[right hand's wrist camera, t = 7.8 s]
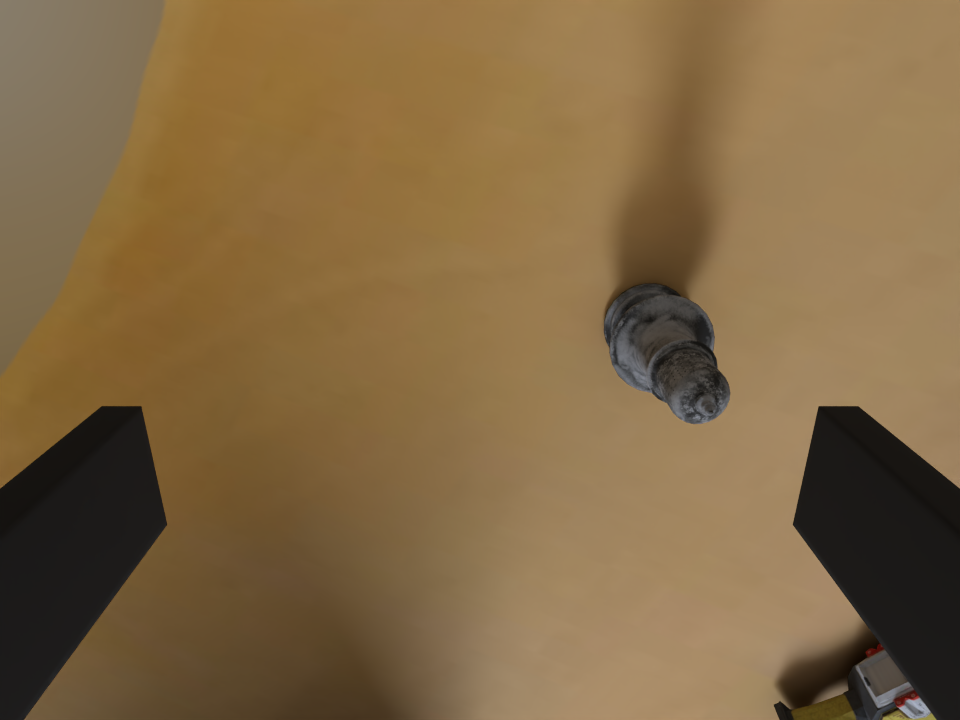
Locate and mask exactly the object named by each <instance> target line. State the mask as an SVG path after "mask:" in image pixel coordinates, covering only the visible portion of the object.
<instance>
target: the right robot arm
mask: <svg viewBox="0 0 960 720" xmlns="http://www.w3.org/2000/svg"><path fill="white" fill-rule="evenodd" d="M166 526H167V522H166V517H165V513H164V508H163V504H162V499H161V494H160V490H159V485H158V481H157V476H156V471H155V467H154V462H153V458H152V453H151V449H150V444H149V439H148V435H147V430H146V426H145V421H144V416H143V412H142V407H141V406H102V407H100V408H99V409H98V410H97V411H95V412H94V413H93V414H92V415H91V416H89V417H88V418H87V419H86V420H84V421H83V422H82V423H81V424H79V425H78V426H77V427H76V428H74V429H73V430H72V431H71V432H70V433H68V434H67V435H66V436H65V437H63V438H62V439H61V440H60V441H58V442H57V443H56V444H55V445H54V446H52V447H51V448H50V449H49V450H47V451H46V452H45V453H44V454H42V455H41V456H40V457H39V458H38V459H36V460H35V461H34V462H33V463H31V464H30V465H29V466H28V467H26V468H25V469H24V470H23V471H21V472H20V473H19V474H18V475H17V476H15V477H14V478H13V479H12V480H10V481H9V482H8V483H7V484H5V485H4V486H3V487H2V488H1V489H0V720H24V719H25V717H26V716H27V714H28V713H29V712H30V710H31V709H32V708H33V706H34V705H35V704H36V702H37V701H38V700H39V698H40V697H41V695H42V694H43V693H44V691H45V690H46V689H47V687H48V686H49V685H50V683H51V682H52V680H53V679H54V678H55V676H56V675H57V674H58V672H59V671H60V670H61V668H62V667H63V666H64V664H65V663H66V661H67V660H68V659H69V657H70V656H71V655H72V653H73V652H74V651H75V649H76V648H77V647H78V645H79V644H80V642H81V641H82V640H83V638H84V637H85V636H86V634H87V633H88V632H89V630H90V629H91V627H92V626H93V625H94V623H95V622H96V621H97V619H98V618H99V617H100V615H101V614H102V613H103V611H104V610H105V608H106V607H107V606H108V604H109V603H110V602H111V600H112V599H113V598H114V596H115V595H116V594H117V592H118V591H119V589H120V588H121V587H122V585H123V584H124V583H125V581H126V580H127V579H128V577H129V576H130V574H131V573H132V572H133V570H134V569H135V568H136V566H137V565H138V564H139V562H140V561H141V560H142V558H143V557H144V555H145V554H146V553H147V551H148V550H149V549H150V547H151V546H152V545H153V543H154V542H155V541H156V539H157V538H158V536H159V535H160V534H161V532H162V531H163V530H164V528H165V527H166ZM793 526H794V527H795V528H796V530H797V531H798V532H799V534H800V535H801V536H802V538H803V539H804V541H805V542H806V543H807V545H808V546H809V547H810V549H811V550H812V551H813V553H814V554H815V555H816V557H817V558H818V560H819V561H820V562H821V564H822V565H823V566H824V568H825V569H826V570H827V572H828V573H829V574H830V576H831V577H832V579H833V580H834V581H835V583H836V584H837V585H838V587H839V588H840V589H841V591H842V592H843V594H844V595H845V596H846V598H847V599H848V600H849V602H850V603H851V604H852V606H853V607H854V608H855V610H856V611H857V613H858V614H859V615H860V617H861V618H862V619H863V621H864V622H865V623H866V625H867V626H868V627H869V629H870V630H871V632H872V633H873V634H874V636H875V637H876V638H877V640H878V641H879V642H880V644H881V645H882V647H883V648H884V649H885V651H886V652H887V653H888V655H889V656H890V657H891V659H892V660H893V661H894V663H895V664H896V666H897V667H898V668H899V670H900V671H901V672H902V674H903V675H904V676H905V678H906V679H907V680H908V682H909V683H910V685H911V686H912V687H913V689H914V690H915V691H916V693H917V694H918V695H919V697H920V698H921V700H922V701H923V702H924V704H925V705H926V706H927V708H928V709H929V710H930V712H931V713H932V714H933V716H934V717H935V719H936V720H960V489H959V488H958V487H957V486H956V485H955V484H953V483H952V482H951V481H950V480H948V479H947V478H946V477H945V476H943V475H942V474H941V473H940V472H939V471H937V470H936V469H935V468H934V467H932V466H931V465H930V464H929V463H927V462H926V461H925V460H924V459H922V458H921V457H920V456H919V455H918V454H916V453H915V452H914V451H913V450H911V449H910V448H909V447H908V446H906V445H905V444H904V443H903V442H902V441H900V440H899V439H898V438H897V437H895V436H894V435H893V434H892V433H890V432H889V431H888V430H887V429H886V428H884V427H883V426H882V425H881V424H879V423H878V422H877V421H876V420H874V419H873V418H872V417H871V416H869V415H868V414H867V413H866V412H865V411H863V410H862V409H861V408H860V407H858V406H819V407H818V412H817V416H816V421H815V426H814V430H813V435H812V439H811V444H810V449H809V453H808V458H807V462H806V467H805V471H804V476H803V481H802V485H801V490H800V494H799V499H798V504H797V508H796V513H795V517H794V522H793Z"/></svg>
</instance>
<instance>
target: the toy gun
mask: <svg viewBox="0 0 960 720" xmlns="http://www.w3.org/2000/svg"><path fill="white" fill-rule="evenodd" d="M866 654H867V657H868V658H866V659H865V660H863V661H862V662H860V663H858V664H856V665H854V666H853V668H852V670H851V672H850V674H849V676H848V687H849V691H847V692H844V693H843V694H842V695H839V696H836V697H833V698H831V699H828V700H825V701H822V702H819V703H817V704H813V705H810V706H806V707H802V708H798V709H794V710H791V709H789V708H787V707H786V706H785V705H784V704H783V703H782V702H780V701H779V703H777V704H775V705H774V707H775V709H776V712H777V714H778V717H779V719H780V720H936V719H935V717H934V716H933V714H932V713H931V712H930V710H929V709H928V708H927V706H926V705H925V704H924V702H923V701H922V700H921V698H920V697H919V695H918V694H917V693H916V691H915V690H914V689H913V687H912V686H911V685H910V683H909V682H908V680H907V679H906V678H905V676H904V675H903V674H902V672H901V671H900V670H899V668H898V667H897V666H896V664H895V663H894V661H893V660H892V659H891V657H890V656H889V655H888V653H887V652H886V651H885V649H884V648H883V647H882V645H881V644H880V643H879V644H878V647H877V649H872V648H870V649H868V650H867V651H866Z"/></svg>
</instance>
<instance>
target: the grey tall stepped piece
mask: <svg viewBox="0 0 960 720" xmlns="http://www.w3.org/2000/svg"><path fill="white" fill-rule="evenodd" d="M604 334H605V339H606V342H607V344H608V346H609V347H610V352H609V353H610V357H611V361H612V365H613V367H614V368H615V370H616V372H617V374H618V375H619V377H621V378H622V379H623V380H624V381H625V382H626V383H627V384H628V385H630V386H632V387H634V388H636V389H638V390H641V391H646V392H650V393H652V394H654V395H655V396H656V397H657V398H658V399H660V400H661V401H663V402H665V403H667V404H668V405H669V407H670V409H671V410H672V412H673V413H674V414H675V415H676V416H677V417H678V418H680V419H681V420H683V421H685V422H687V423H692V424H702V423H706V422H709V421H711V420H713V419H715V418H716V417H718V416H719V415H720V414H721V413H722V412H723V411H724V409H725V408H726V407H727V404H728V402H729V398H730V389H729V384H728V382H727V380H726V378H725V377H724V376H723V374H722V373H721V372H720V371H719V370H718V369H717V367H718V366H717V360H716V357H715V355H714V353H713V348H714V339H715V337H714V331H713V325H712V323H711V321H710V319H709V317H708V316H707V314H706V313H705V312H704V311H703V310H702V309H701V308H700V307H699V306H698V305H697V304H696V303H694V302H692V301H690V300H688V299H687V298H683V297H681V296H680V295H679V294H678V293H677V292H676V291H674V290H673V289H671V288H669V287H667V286H664V285H660V284H642V285H638V286H635V287H632V288H630V289H628V290H627V291H625V292H623V293H622V294H621V295H620V296H619V297H618V298H616V299H615V300H614V302H613V303H612V305H611V306H610V308H609V309H608V311H607V314H606V317H605V320H604Z"/></svg>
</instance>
